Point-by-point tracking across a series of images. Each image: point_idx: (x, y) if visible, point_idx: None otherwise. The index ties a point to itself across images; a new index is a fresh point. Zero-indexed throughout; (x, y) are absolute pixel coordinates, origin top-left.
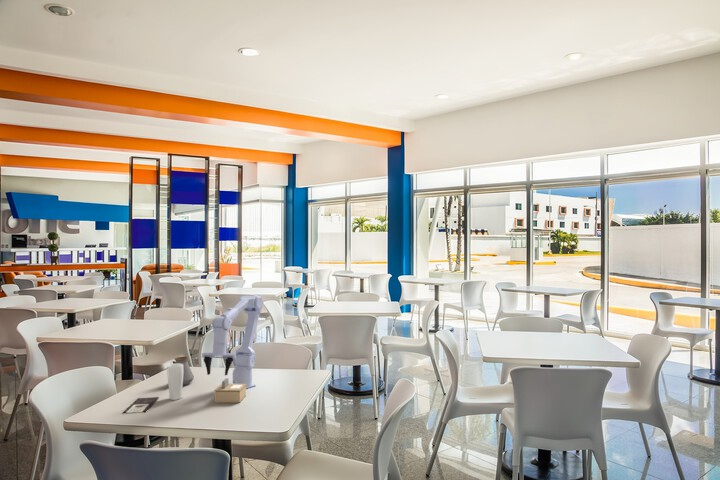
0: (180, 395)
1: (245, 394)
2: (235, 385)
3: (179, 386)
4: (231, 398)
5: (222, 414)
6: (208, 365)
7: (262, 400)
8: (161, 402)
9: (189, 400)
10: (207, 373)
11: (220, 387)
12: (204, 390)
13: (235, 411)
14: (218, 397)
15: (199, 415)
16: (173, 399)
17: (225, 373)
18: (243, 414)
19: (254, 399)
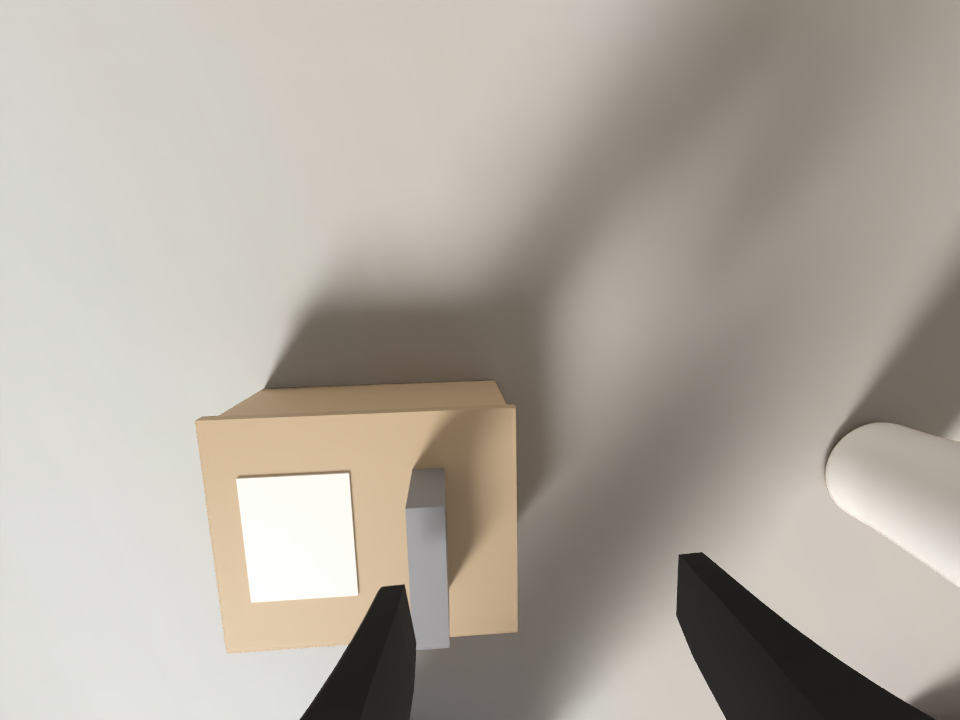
0: (848, 466)
1: None
2: (324, 575)
3: (942, 488)
4: (333, 395)
5: (300, 70)
6: (804, 689)
7: (73, 464)
8: (949, 366)
9: (737, 426)
10: (712, 562)
11: (479, 502)
12: (696, 665)
13: (206, 157)
14: (465, 393)
15: (510, 40)
16: (876, 423)
17: (387, 605)
18: (87, 72)
19: (164, 485)
